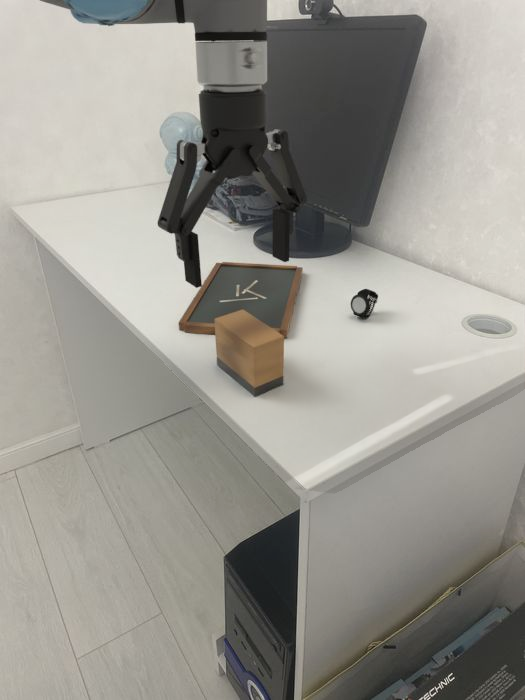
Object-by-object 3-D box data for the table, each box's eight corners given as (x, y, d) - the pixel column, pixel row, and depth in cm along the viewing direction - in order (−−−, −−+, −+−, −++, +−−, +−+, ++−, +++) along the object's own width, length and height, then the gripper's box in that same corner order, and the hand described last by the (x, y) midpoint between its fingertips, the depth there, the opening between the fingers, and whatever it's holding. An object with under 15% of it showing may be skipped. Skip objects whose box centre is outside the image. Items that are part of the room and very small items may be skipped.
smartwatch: (346, 314, 92) (348, 289, 90) (371, 309, 94) (374, 284, 91) (358, 324, 89) (361, 298, 86) (384, 319, 91) (387, 293, 88)
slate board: (178, 332, 87) (177, 324, 86) (217, 268, 111) (217, 261, 110) (286, 340, 85) (286, 332, 84) (302, 273, 109) (302, 266, 108)
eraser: (217, 365, 78) (214, 318, 74) (244, 354, 81) (243, 309, 77) (254, 396, 71) (254, 347, 67) (283, 384, 74) (284, 336, 70)
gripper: (141, 98, 47) (166, 306, 58) (341, 83, 60) (330, 257, 71) (109, 92, 52) (138, 285, 63) (299, 79, 65) (295, 242, 76)
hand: (239, 270), depth 67 cm, fingers open, 13 cm apart
